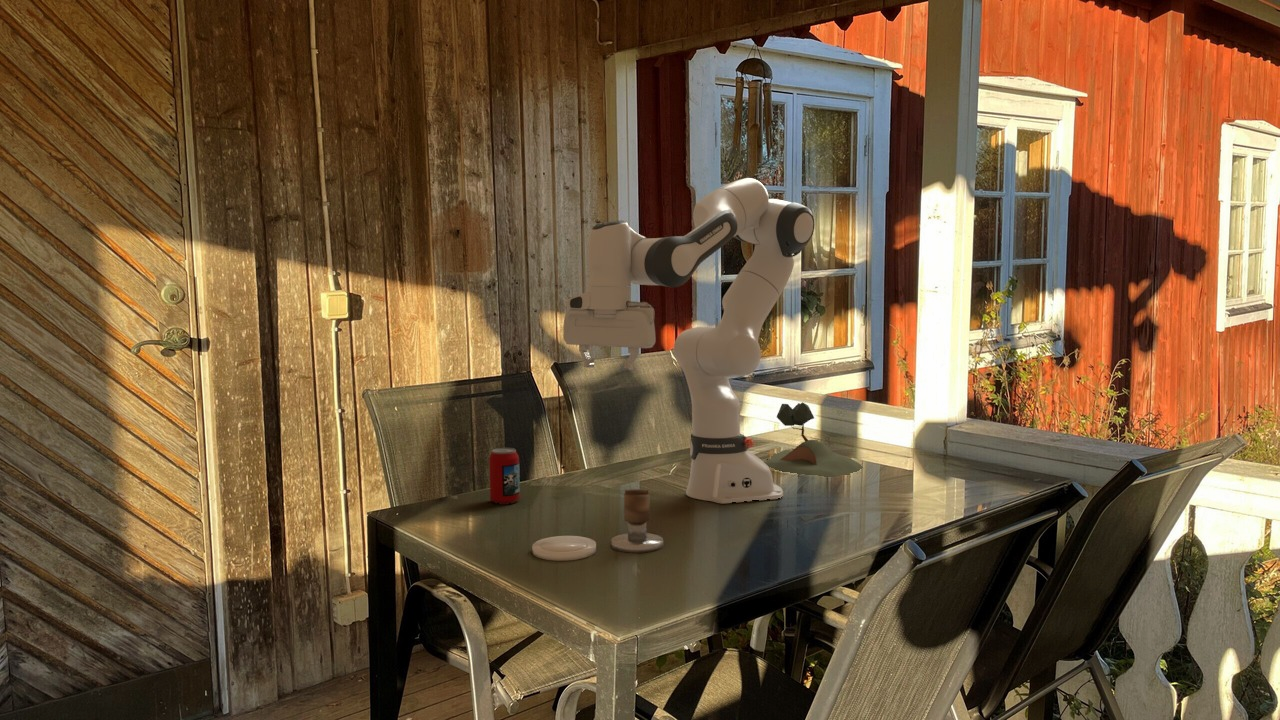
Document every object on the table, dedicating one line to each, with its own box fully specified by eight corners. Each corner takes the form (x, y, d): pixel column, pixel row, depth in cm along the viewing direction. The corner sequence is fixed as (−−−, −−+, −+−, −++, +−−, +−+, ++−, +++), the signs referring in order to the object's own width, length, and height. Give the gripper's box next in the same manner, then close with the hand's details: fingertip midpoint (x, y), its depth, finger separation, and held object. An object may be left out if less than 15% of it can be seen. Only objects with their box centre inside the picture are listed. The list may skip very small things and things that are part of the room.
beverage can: (514, 505, 214) (513, 453, 213) (486, 504, 216) (484, 452, 215) (524, 498, 221) (522, 447, 220) (496, 497, 222) (495, 446, 221)
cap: (648, 515, 185) (647, 486, 185) (650, 522, 181) (650, 492, 180) (623, 516, 185) (623, 487, 184) (625, 523, 180) (625, 493, 180)
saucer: (594, 540, 186) (594, 533, 186) (597, 559, 175) (597, 551, 174) (533, 542, 185) (532, 535, 185) (531, 561, 173) (531, 554, 173)
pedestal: (660, 536, 189) (659, 511, 188) (666, 551, 179) (665, 525, 178) (609, 538, 188) (609, 513, 187) (613, 553, 178) (612, 527, 177)
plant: (788, 449, 278) (788, 389, 276) (894, 467, 252) (895, 400, 251) (722, 464, 258) (722, 399, 256) (830, 485, 233) (830, 413, 231)
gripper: (661, 301, 192) (660, 370, 193) (575, 299, 201) (575, 364, 203) (646, 302, 186) (645, 372, 187) (559, 300, 196) (559, 367, 197)
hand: (608, 368), depth 195 cm, fingers open, 8 cm apart
